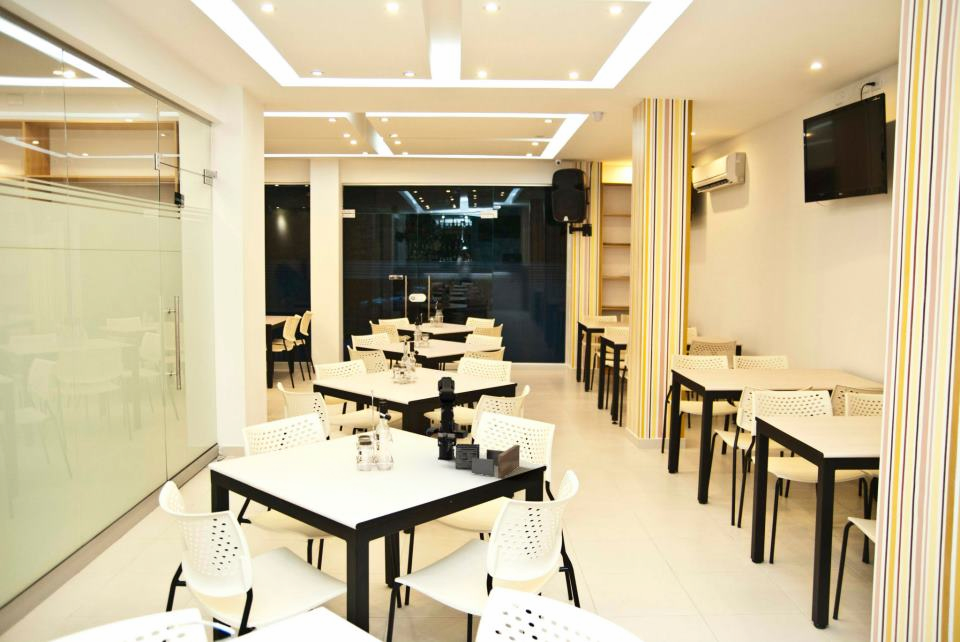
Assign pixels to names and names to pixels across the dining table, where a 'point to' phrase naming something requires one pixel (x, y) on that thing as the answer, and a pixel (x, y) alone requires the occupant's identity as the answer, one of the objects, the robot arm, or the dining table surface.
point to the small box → (466, 455)
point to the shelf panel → (508, 461)
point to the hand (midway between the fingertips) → (446, 451)
